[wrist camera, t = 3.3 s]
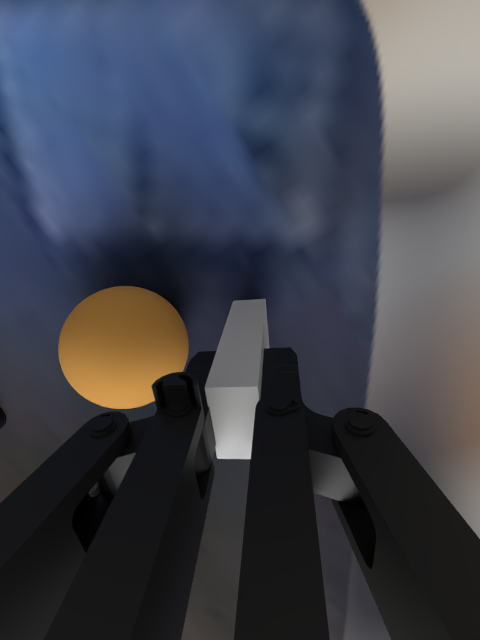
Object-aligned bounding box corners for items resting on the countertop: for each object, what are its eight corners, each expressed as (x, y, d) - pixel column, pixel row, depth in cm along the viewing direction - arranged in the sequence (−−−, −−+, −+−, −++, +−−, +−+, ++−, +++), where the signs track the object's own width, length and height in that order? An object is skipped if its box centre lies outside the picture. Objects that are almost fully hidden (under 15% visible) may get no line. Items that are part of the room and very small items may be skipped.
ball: (115, 365, 19) (55, 436, 14) (86, 274, 16) (2, 320, 11) (207, 363, 18) (179, 437, 13) (190, 267, 15) (149, 312, 11)
